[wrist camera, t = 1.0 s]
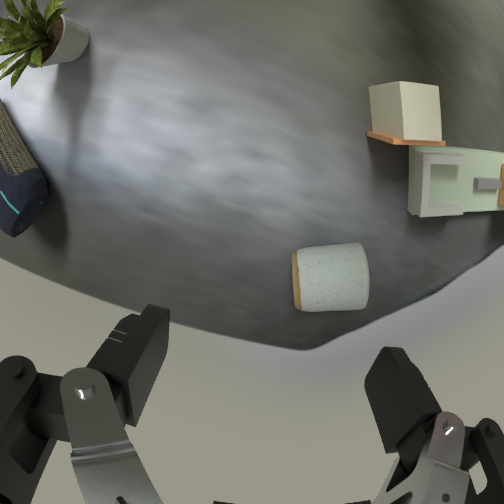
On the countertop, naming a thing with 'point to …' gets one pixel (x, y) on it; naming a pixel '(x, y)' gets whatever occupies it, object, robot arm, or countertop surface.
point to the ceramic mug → (330, 278)
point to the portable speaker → (18, 181)
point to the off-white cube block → (406, 113)
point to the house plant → (39, 37)
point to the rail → (454, 180)
